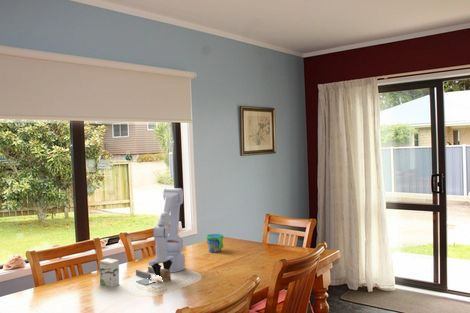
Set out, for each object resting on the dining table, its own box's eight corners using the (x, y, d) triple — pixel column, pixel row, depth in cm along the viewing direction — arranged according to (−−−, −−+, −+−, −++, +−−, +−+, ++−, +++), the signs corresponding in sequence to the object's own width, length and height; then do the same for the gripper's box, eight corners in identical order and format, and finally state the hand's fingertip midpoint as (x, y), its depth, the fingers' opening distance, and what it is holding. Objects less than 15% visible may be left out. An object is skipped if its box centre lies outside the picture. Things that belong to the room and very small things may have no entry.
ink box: (99, 284, 204) (98, 260, 204) (107, 281, 208) (106, 257, 208) (112, 287, 200) (111, 262, 200) (119, 284, 204) (119, 259, 204)
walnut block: (163, 278, 212) (163, 268, 212) (170, 280, 208) (170, 270, 208) (156, 280, 209) (156, 270, 209) (163, 282, 205) (163, 272, 205)
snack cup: (228, 253, 260) (227, 236, 260) (212, 255, 255) (212, 238, 255) (217, 247, 274) (217, 232, 273) (202, 250, 269) (202, 234, 268)
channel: (149, 271, 224) (149, 266, 224) (163, 275, 216) (162, 270, 216) (136, 274, 218) (135, 270, 218) (149, 279, 210) (149, 274, 210)
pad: (146, 279, 211) (146, 278, 211) (155, 282, 206) (155, 281, 206) (136, 281, 207) (136, 281, 207) (145, 285, 201) (145, 284, 201)
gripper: (167, 246, 217) (168, 272, 218) (144, 251, 206) (145, 278, 207) (176, 248, 213) (177, 274, 213) (153, 253, 202) (154, 281, 202)
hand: (162, 276), depth 209 cm, fingers closed on walnut block, 5 cm apart
